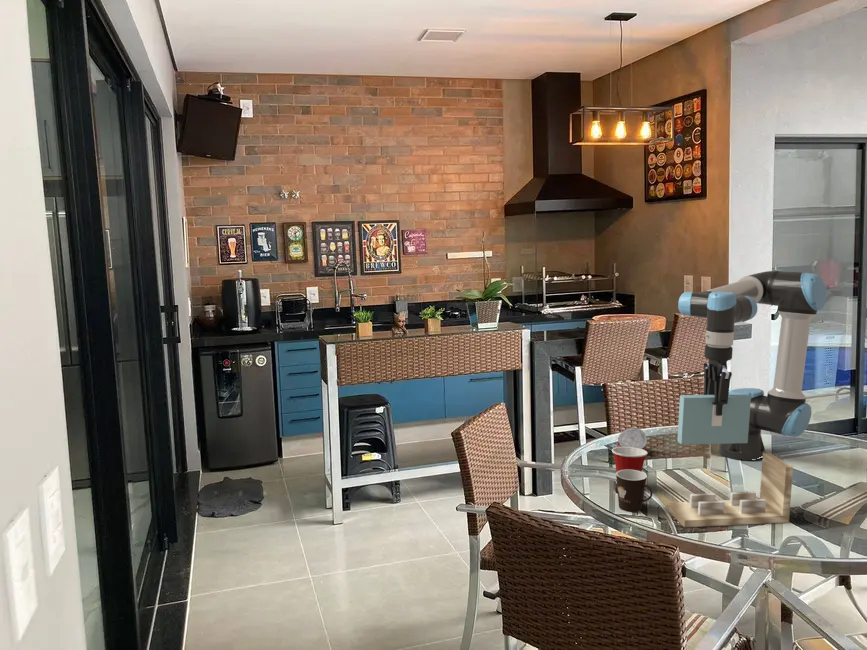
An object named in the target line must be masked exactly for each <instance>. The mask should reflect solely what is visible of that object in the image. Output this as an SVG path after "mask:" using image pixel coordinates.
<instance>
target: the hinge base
mask: <svg viewBox="0 0 867 650" xmlns="http://www.w3.org/2000/svg"><path fill="white" fill-rule="evenodd" d="M761 460H762V462H761V476H760V489H759V490H760V492H759V498H757V492H755V491H753V490H752V491H733V492H732V491H731V492H730V493H729V495H730V497H729V499H726V500H725V499H723V500H721V499H720V500H716V498H717V497H716V494H715V492H714V493H713V492H712V493H711V492H710V493H709V492H708V493H690V494H689V501H683V502H682V501H679V502H667V503H666V511H668V513H670V515H672V516H673V518H675V519H676V521H678V523H679V524H681V526H683V527H684V528H699V527H716V526H717V527H718V526H719V527H720V526H721V527H722V526H737V525H738V526H740V525H741V526H742V525H759V524H760V525H761V524H763V525H764V524H777V523H778V524H780V523H782V524H783V523H790V511H791V501H792V500H791V498H792V486H793V485H792V484H793V476H794V475H793V474H794V473H793V472H794V467H793V466H792V465H790V464H789V463H787V462H786V461H784V460H782V459H781V458H779V457H778V456H776V455H774V454H773V453H771V452H765V453H763V459H761Z"/></svg>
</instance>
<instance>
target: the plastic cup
mask: <svg viewBox="0 0 867 650" xmlns="http://www.w3.org/2000/svg"><path fill="white" fill-rule="evenodd" d="M611 451H612V454H613V460H614V463H615V470H616V471H615V473H616V472H618V471H620V470H628V469H629V470H637V471H641V472H643V467H644V463H645V460H646V457H647V456H648V454H649V453H648V451H647V450H646V451H645V450H643V449H639V448H634V447H617V446H616V447H613V448H612V449H611Z"/></svg>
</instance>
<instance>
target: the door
mask: <svg viewBox="0 0 867 650" xmlns="http://www.w3.org/2000/svg"><path fill="white" fill-rule="evenodd" d="M714 402H715V395H704V394H682V395H681V394H680V396H679V404H678V406H679V407H678V408H679V409H678V425H677V442H678V443H679V444H680V445H713V444H714V445H715V444H716V445H717V444H718V445H719V444H729V443H748V431H749V417H750V403H751V397H750V396H748V395H746V394H737V395H728V403H727V404H724V405H723V412H722V426H712V409H713V404H712V403H714Z"/></svg>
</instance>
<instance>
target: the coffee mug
mask: <svg viewBox="0 0 867 650" xmlns="http://www.w3.org/2000/svg"><path fill="white" fill-rule="evenodd" d="M615 476H616V488H617V500H618V501H617V502H618V508H619V509H620V510H622V511H623V512H627V513H628V512H629V513H637V512H638V513H639V512H641V510H642V508H643V503H644V502H647V501H649V500H650V499H651V498H652V497H653V490H652V488H651V487H650V486H649V485H647V478H648V475H647V474H646V473H645V472H643V471H642V472H641V471H637V470H629V469H628V470H620V471H618V472H616V471H615ZM645 489H648V490H649V496H648V498H645V499H644V495H645V492H646V491H645Z"/></svg>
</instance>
